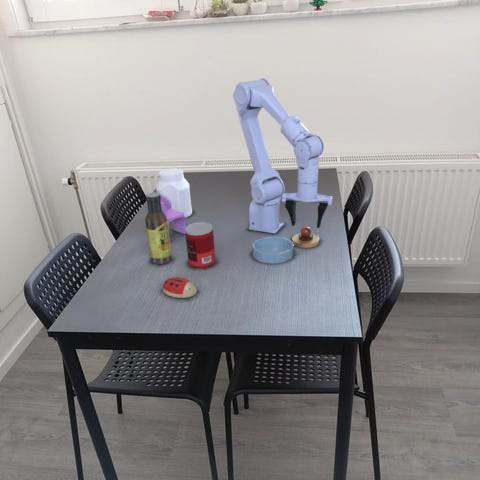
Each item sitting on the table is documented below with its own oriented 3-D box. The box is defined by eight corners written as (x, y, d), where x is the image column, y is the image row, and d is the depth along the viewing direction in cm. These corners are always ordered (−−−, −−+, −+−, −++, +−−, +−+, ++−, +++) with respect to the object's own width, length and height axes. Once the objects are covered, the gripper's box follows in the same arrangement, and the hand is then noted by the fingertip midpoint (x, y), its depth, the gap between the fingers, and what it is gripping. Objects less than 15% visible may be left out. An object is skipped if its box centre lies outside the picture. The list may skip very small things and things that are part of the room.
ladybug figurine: (190, 302, 122) (189, 289, 120) (156, 296, 125) (154, 284, 123) (201, 289, 127) (200, 277, 125) (169, 283, 130) (167, 272, 128)
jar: (157, 218, 169) (150, 176, 161) (163, 208, 177) (158, 167, 169) (189, 218, 168) (184, 176, 159) (194, 208, 176) (190, 167, 167)
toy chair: (190, 234, 156) (185, 189, 148) (169, 243, 151) (163, 197, 143) (173, 228, 161) (167, 184, 153) (152, 237, 156) (145, 191, 148)
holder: (287, 245, 147) (287, 238, 145) (297, 234, 153) (297, 228, 152) (314, 249, 143) (314, 242, 142) (322, 238, 150) (323, 231, 148)
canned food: (219, 258, 141) (216, 223, 135) (209, 270, 135) (206, 234, 129) (195, 255, 144) (192, 220, 138) (184, 267, 137) (180, 231, 131)
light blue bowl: (246, 259, 140) (245, 250, 138) (262, 243, 149) (262, 234, 147) (284, 266, 135) (284, 256, 134) (299, 249, 144) (299, 240, 142)
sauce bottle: (167, 266, 139) (157, 199, 127) (147, 264, 140) (136, 198, 129) (176, 256, 144) (167, 191, 132) (157, 254, 145) (147, 190, 134)
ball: (302, 239, 146) (303, 229, 144) (298, 235, 148) (299, 225, 146) (312, 238, 146) (313, 228, 144) (308, 234, 149) (309, 224, 147)
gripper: (335, 178, 139) (332, 222, 146) (286, 175, 143) (285, 218, 150) (331, 186, 133) (328, 231, 141) (280, 182, 137) (280, 227, 145)
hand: (306, 225), depth 145 cm, fingers open, 7 cm apart
